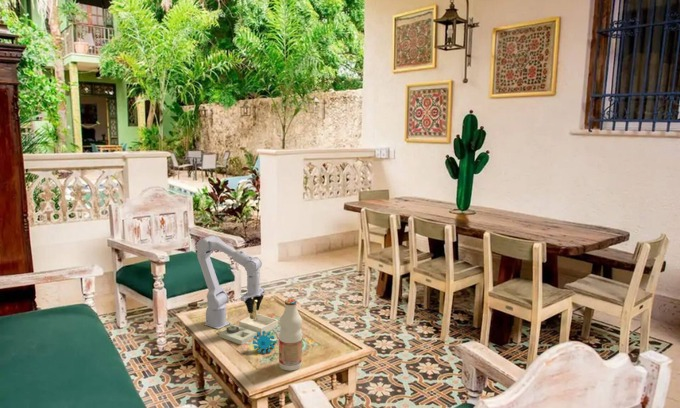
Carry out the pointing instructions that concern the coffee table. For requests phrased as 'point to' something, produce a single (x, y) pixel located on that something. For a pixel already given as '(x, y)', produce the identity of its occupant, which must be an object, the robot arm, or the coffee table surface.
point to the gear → (264, 342)
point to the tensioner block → (237, 334)
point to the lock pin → (254, 309)
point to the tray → (259, 323)
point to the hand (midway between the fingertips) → (253, 311)
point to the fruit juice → (290, 337)
